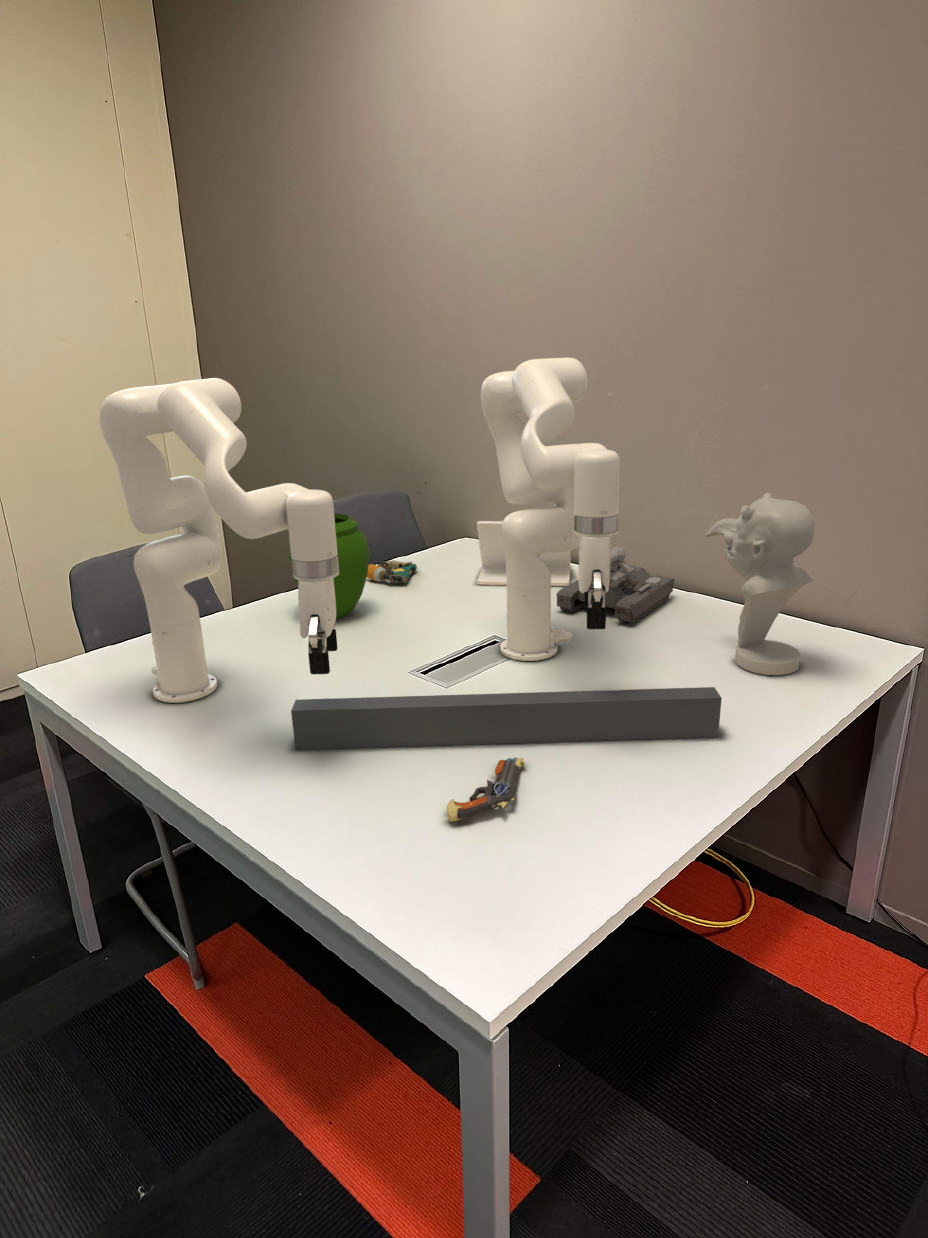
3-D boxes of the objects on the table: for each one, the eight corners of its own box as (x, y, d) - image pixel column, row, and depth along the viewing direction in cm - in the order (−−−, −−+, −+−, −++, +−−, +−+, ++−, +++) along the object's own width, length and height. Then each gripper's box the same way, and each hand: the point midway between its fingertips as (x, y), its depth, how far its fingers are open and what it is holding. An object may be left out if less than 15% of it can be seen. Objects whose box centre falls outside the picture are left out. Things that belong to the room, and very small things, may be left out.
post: (711, 725, 154) (714, 686, 151) (718, 737, 150) (721, 697, 147) (299, 737, 154) (295, 699, 151) (295, 750, 150) (290, 710, 147)
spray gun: (385, 567, 251) (431, 574, 246) (355, 581, 237) (403, 588, 231) (385, 553, 250) (431, 560, 244) (355, 566, 236) (403, 573, 230)
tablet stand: (569, 585, 229) (570, 524, 223) (476, 584, 232) (475, 523, 226) (570, 566, 246) (571, 508, 240) (484, 564, 249) (483, 507, 243)
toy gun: (442, 810, 126) (509, 808, 124) (466, 754, 144) (524, 752, 142) (445, 827, 127) (511, 825, 125) (468, 769, 145) (526, 767, 142)
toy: (603, 584, 229) (605, 530, 224) (673, 597, 218) (677, 540, 213) (555, 612, 210) (556, 553, 205) (630, 627, 199) (633, 566, 194)
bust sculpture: (735, 630, 196) (748, 478, 183) (821, 666, 176) (842, 499, 163) (681, 644, 189) (691, 488, 176) (764, 683, 169) (782, 510, 157)
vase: (389, 608, 216) (383, 514, 208) (339, 633, 201) (330, 533, 192) (330, 596, 226) (322, 506, 218) (278, 619, 211) (267, 523, 202)
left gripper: (301, 552, 148) (310, 643, 154) (282, 583, 132) (293, 683, 138) (344, 550, 148) (352, 642, 154) (331, 582, 132) (340, 682, 138)
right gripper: (572, 513, 153) (572, 604, 159) (575, 536, 137) (574, 636, 142) (614, 513, 152) (612, 604, 158) (622, 535, 136) (620, 636, 142)
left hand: (324, 661), depth 146 cm, fingers open, 9 cm apart
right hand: (594, 619), depth 150 cm, fingers open, 9 cm apart
